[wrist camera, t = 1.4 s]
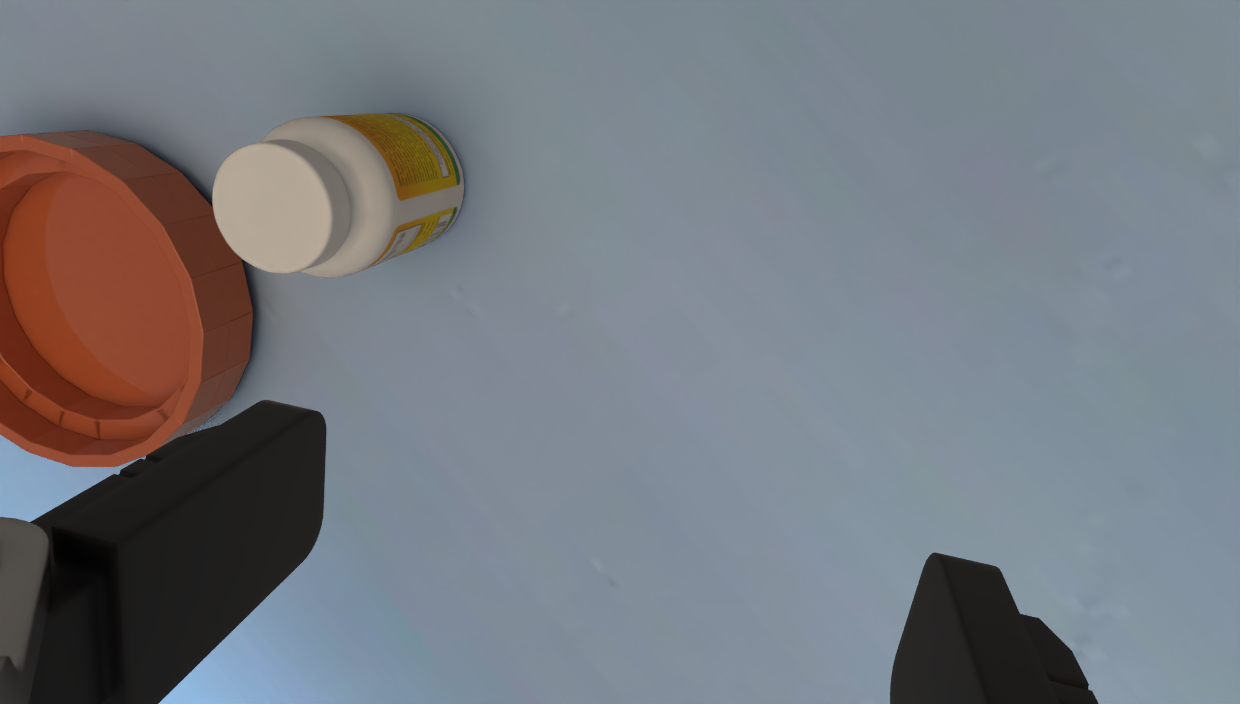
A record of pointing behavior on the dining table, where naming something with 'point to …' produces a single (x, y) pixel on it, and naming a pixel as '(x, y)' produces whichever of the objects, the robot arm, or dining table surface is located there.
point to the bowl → (111, 301)
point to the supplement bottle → (338, 193)
